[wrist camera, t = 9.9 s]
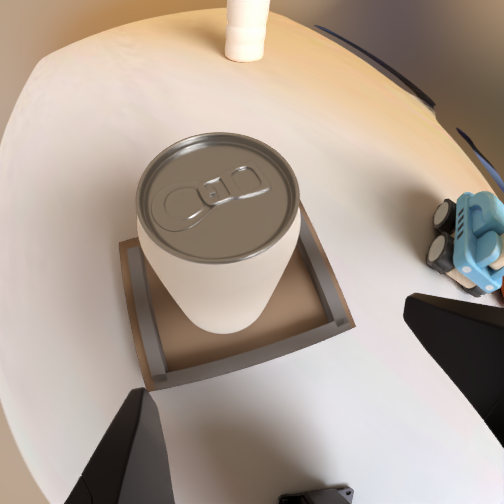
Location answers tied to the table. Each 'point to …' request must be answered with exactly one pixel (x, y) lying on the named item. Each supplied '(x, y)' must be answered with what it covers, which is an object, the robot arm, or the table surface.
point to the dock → (238, 343)
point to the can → (219, 226)
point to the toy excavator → (470, 242)
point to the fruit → (502, 286)
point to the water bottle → (246, 29)
